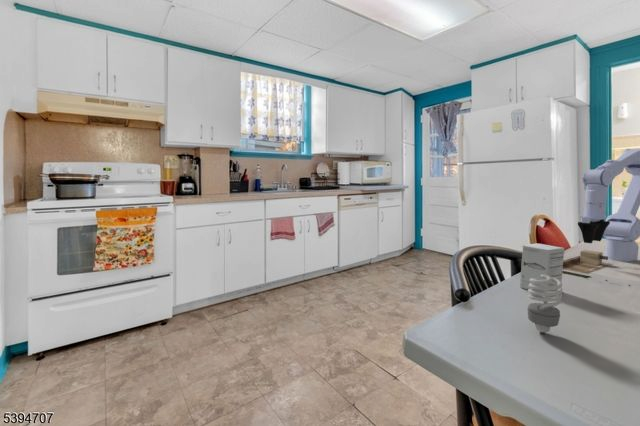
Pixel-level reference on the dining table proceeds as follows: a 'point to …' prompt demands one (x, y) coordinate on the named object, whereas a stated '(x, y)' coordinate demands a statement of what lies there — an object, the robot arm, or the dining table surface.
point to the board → (581, 267)
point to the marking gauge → (592, 257)
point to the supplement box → (541, 263)
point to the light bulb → (544, 312)
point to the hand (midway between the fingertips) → (592, 241)
